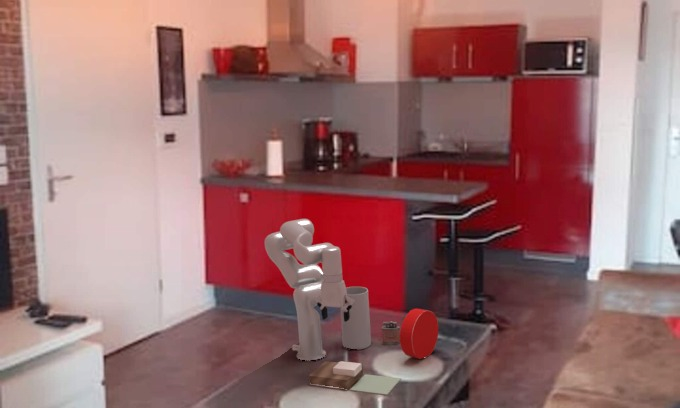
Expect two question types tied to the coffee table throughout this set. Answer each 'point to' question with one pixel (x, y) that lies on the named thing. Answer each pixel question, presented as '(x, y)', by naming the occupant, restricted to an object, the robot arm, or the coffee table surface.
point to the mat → (375, 384)
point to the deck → (332, 376)
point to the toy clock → (419, 333)
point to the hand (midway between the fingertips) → (335, 319)
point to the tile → (347, 368)
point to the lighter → (390, 333)
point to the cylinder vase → (357, 320)
